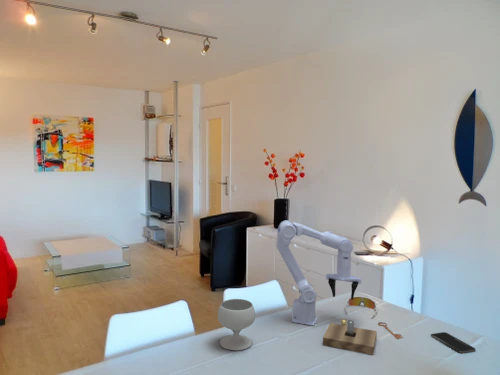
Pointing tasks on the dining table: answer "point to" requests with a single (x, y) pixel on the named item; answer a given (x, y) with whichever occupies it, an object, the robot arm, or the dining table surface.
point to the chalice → (236, 322)
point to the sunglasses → (364, 300)
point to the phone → (453, 342)
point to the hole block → (350, 339)
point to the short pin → (344, 322)
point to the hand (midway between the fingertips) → (343, 297)
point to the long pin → (350, 328)
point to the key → (390, 331)
